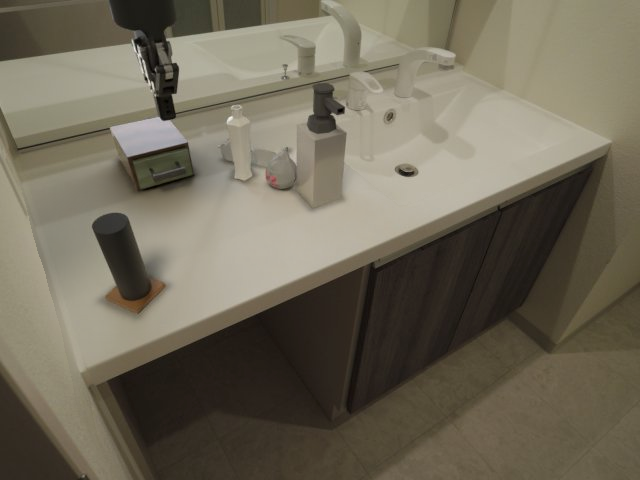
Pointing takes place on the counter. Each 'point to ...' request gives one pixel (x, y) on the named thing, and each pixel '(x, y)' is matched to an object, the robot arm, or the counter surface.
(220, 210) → the counter surface
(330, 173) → the soap dispenser
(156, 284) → the coaster
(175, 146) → the cabinet
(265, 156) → the eyeglasses
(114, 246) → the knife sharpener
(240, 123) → the perfume bottle
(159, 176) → the drawer
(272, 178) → the figurine
